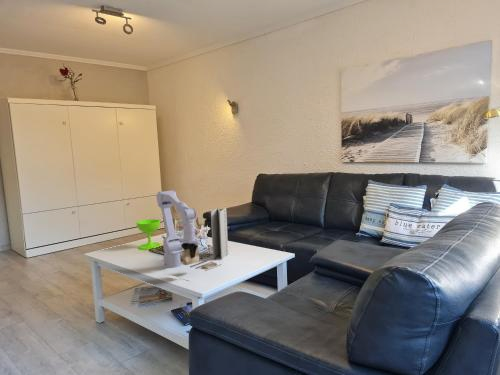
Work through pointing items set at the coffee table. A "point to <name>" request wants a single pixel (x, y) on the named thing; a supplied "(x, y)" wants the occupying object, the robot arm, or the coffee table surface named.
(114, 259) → the coffee table surface
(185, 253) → the tan wooden block
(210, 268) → the rack
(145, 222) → the wineglass
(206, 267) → the offcut upper
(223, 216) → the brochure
